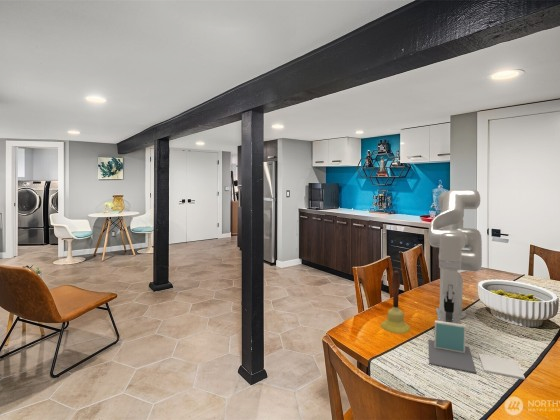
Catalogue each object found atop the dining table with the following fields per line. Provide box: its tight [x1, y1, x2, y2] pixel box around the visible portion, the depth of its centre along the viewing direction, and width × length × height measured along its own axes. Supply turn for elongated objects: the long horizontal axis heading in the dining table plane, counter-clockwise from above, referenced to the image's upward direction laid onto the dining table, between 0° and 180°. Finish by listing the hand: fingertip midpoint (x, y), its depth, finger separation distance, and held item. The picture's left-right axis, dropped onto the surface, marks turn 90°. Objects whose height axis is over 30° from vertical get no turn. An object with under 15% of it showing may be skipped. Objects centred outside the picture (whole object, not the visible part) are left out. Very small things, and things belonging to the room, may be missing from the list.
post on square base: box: [436, 296, 462, 324], centre depth 123 cm, size 8×8×10 cm
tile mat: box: [427, 339, 477, 375], centre depth 114 cm, size 18×14×1 cm
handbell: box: [380, 270, 411, 335], centre depth 136 cm, size 12×12×25 cm
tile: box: [433, 320, 467, 353], centre depth 117 cm, size 2×10×10 cm, turn 65°
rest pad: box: [478, 353, 526, 381], centre depth 106 cm, size 11×11×1 cm
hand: (448, 309), depth 123 cm, fingers closed on post on square base, 2 cm apart
